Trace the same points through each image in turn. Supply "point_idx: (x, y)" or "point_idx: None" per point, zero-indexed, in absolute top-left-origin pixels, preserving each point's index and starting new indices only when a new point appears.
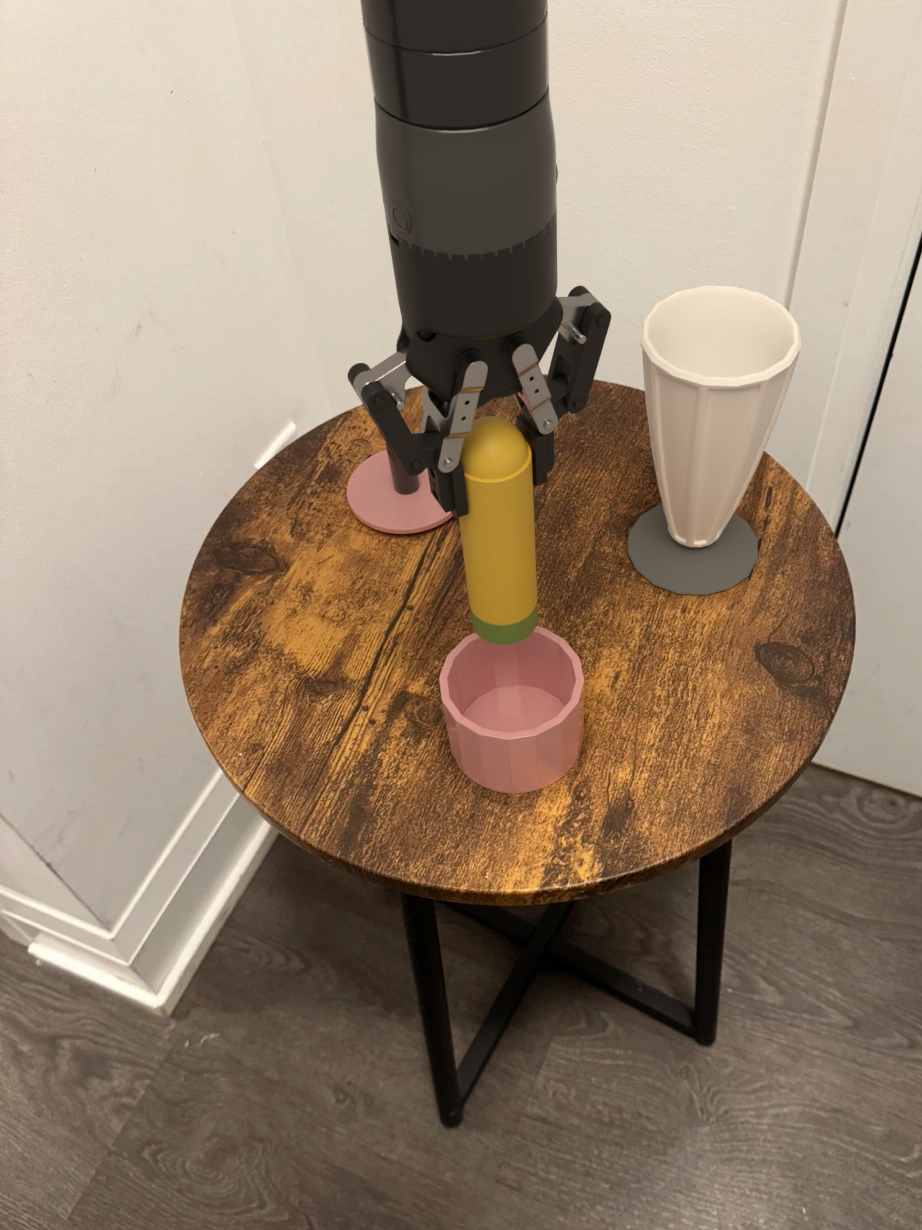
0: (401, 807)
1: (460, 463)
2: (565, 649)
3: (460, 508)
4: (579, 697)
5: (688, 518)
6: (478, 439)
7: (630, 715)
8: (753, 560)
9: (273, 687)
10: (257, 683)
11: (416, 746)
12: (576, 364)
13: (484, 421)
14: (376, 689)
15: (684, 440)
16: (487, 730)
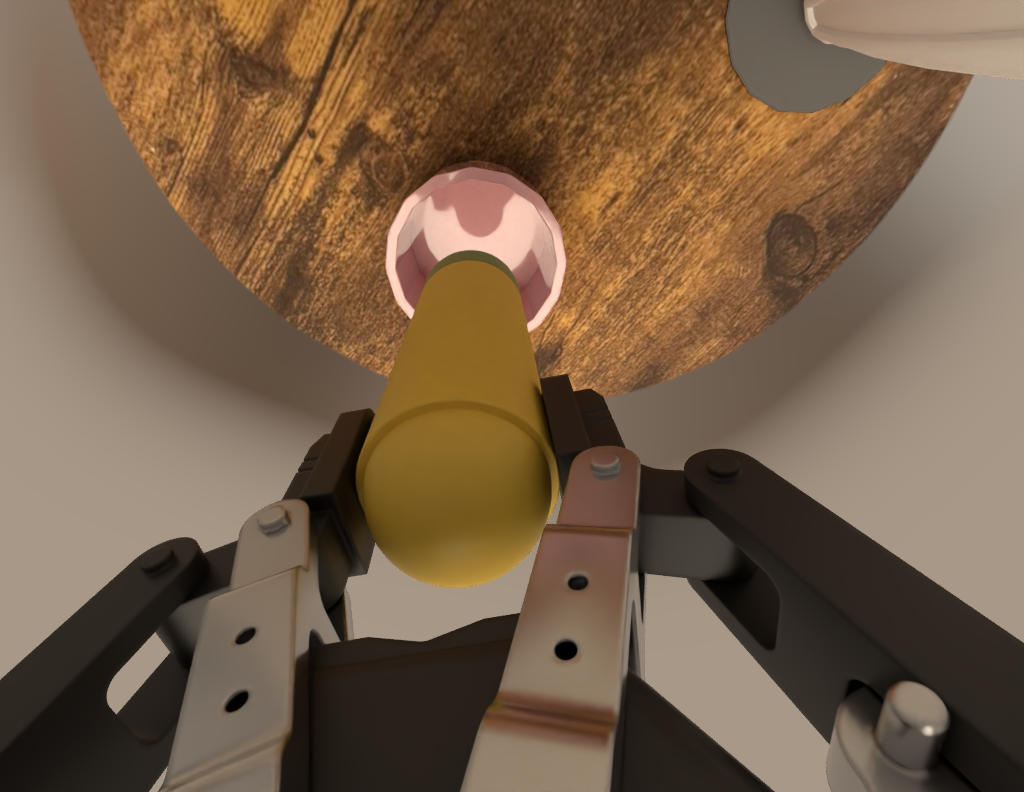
0: (341, 284)
1: (361, 561)
2: (555, 245)
3: None
4: (544, 318)
5: (840, 41)
6: (414, 571)
7: (604, 256)
8: (872, 74)
9: (185, 46)
10: (160, 28)
11: (367, 214)
12: (791, 691)
13: (445, 537)
14: (327, 106)
15: (951, 14)
16: None
